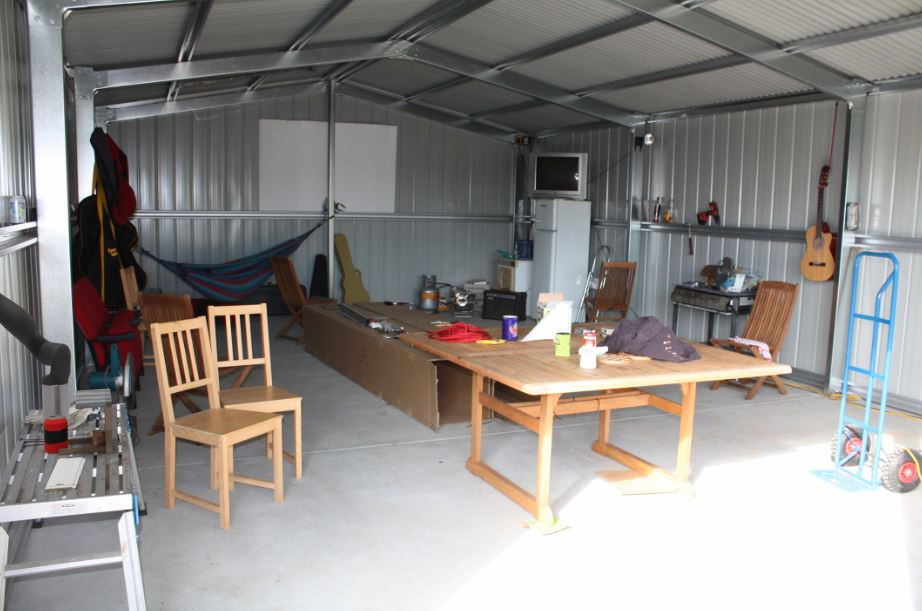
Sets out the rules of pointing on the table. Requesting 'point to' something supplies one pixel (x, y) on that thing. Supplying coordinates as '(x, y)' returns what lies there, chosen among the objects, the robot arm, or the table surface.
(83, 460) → the baseboard
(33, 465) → the table surface
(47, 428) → the soda can
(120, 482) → the table surface
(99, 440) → the overhang shelf
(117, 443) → the table surface
